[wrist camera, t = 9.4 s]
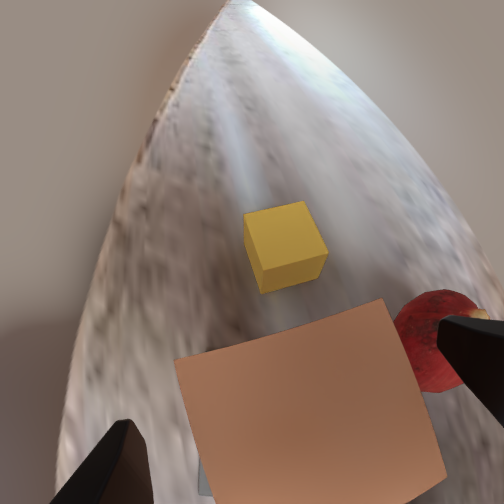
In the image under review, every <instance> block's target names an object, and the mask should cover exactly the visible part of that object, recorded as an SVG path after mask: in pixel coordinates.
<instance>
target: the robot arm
mask: <svg viewBox="0 0 504 504" xmlns="http://www.w3.org/2000/svg"><path fill="white" fill-rule="evenodd" d="M436 345H437V348H438V349H439V351H440V352H441V353H442V355H443V356H444V357H445V359H446V360H447V361H448V363H449V364H450V365H451V367H452V368H453V369H454V371H455V372H456V373H457V375H458V376H459V377H460V379H461V380H462V381H463V382H464V383H465V385H466V386H467V387H468V388H469V389H470V390H471V391H472V392H473V393H474V395H475V396H476V397H477V398H478V399H479V400H480V401H481V402H482V403H483V405H484V406H485V407H486V408H487V409H488V410H489V411H490V413H491V414H492V415H493V416H494V417H495V418H496V419H497V421H498V422H499V423H500V424H501V425H502V426H503V428H504V321H498V320H489V319H481V318H472V317H464V316H456V315H448V316H446V317H444V318H442V319H441V320H440V321H439V323H438V331H437V339H436ZM50 504H154V500H153V490H152V483H151V476H150V470H149V463H148V455H147V447H146V443H145V440H144V438H143V437H142V435H141V433H140V432H139V430H138V428H137V427H136V425H135V423H134V422H133V421H132V420H131V419H124V420H118V421H116V422H115V423H114V424H113V425H112V426H111V428H110V429H109V430H108V431H107V433H106V434H105V435H104V436H103V437H102V439H101V440H100V441H99V442H98V444H97V445H96V446H95V447H94V449H93V450H92V451H91V452H90V454H89V455H88V456H87V457H86V459H85V460H84V461H83V462H82V464H81V465H80V466H79V467H78V468H77V470H76V471H75V472H74V473H73V475H72V476H71V477H70V478H69V480H68V481H67V482H66V483H65V485H64V486H63V487H62V488H61V490H60V491H59V492H58V493H57V495H56V496H55V497H54V498H53V499H52V501H51V502H50Z"/></svg>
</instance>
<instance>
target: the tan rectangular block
mask: <svg viewBox="0 0 504 504" xmlns="http://www.w3.org/2000/svg"><path fill="white" fill-rule="evenodd" d="M174 364H175V368H176V373H177V377H178V381H179V385H180V389H181V393H182V397H183V400H184V404H185V408H186V412H187V415H188V419H189V422H190V426H191V429H192V433H193V436H194V440H195V443H196V446H197V449H198V453H199V456H200V459H201V462H202V465H203V468H204V471H205V474H206V477H207V480H208V483H209V486H210V489H211V492H212V494H213V497H214V500H215V503H216V504H405V503H407V502H409V501H411V500H412V499H414V498H416V497H417V496H419V495H421V494H422V493H424V492H426V491H427V490H429V489H430V488H432V487H433V486H435V485H436V484H438V483H439V482H441V481H442V480H444V479H445V478H447V473H446V470H445V466H444V462H443V459H442V455H441V452H440V449H439V445H438V442H437V439H436V435H435V432H434V429H433V426H432V423H431V420H430V417H429V414H428V411H427V408H426V405H425V402H424V400H423V397H422V394H421V391H420V388H419V386H418V383H417V380H416V378H415V375H414V372H413V370H412V367H411V365H410V362H409V360H408V357H407V355H406V352H405V350H404V347H403V345H402V342H401V340H400V337H399V335H398V333H397V330H396V328H395V326H394V323H393V321H392V319H391V317H390V314H389V312H388V310H387V308H386V305H385V303H384V301H383V299H382V298H380V299H377V300H374V301H371V302H369V303H366V304H363V305H360V306H358V307H355V308H352V309H349V310H346V311H343V312H341V313H338V314H335V315H332V316H329V317H326V318H323V319H320V320H317V321H314V322H311V323H307V324H304V325H301V326H298V327H295V328H292V329H288V330H285V331H282V332H278V333H275V334H272V335H268V336H265V337H261V338H258V339H254V340H251V341H247V342H243V343H240V344H236V345H232V346H229V347H225V348H221V349H217V350H213V351H209V352H205V353H201V354H197V355H193V356H189V357H184V358H180V359H176V360H174Z"/></svg>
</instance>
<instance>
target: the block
mask: <svg viewBox="0 0 504 504" xmlns="http://www.w3.org/2000/svg"><path fill="white" fill-rule="evenodd" d="M243 216H244V245H245V248H246V251H247V254H248V257H249V260H250V263H251V266H252V269H253V272H254V275H255V278H256V281H257V284H258V287H259V290H260V293H261V294H264V293H268V292H272V291H275V290H279V289H282V288H286V287H290V286H293V285H297V284H300V283H304V282H307V281H310V280H314V279H317V278H318V277H319V275H320V272H321V270H322V268H323V266H324V263H325V261H326V259H327V256H328V254H329V252H328V249H327V247H326V245H325V243H324V241H323V239H322V237H321V235H320V233H319V231H318V229H317V226H316V224H315V222H314V220H313V218H312V216H311V214H310V212H309V210H308V208H307V206H306V204H305V202H304V201H301V202H296V203H292V204H287V205H282V206H278V207H273V208H269V209H264V210H260V211H255V212H251V213H247V214H243Z"/></svg>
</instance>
